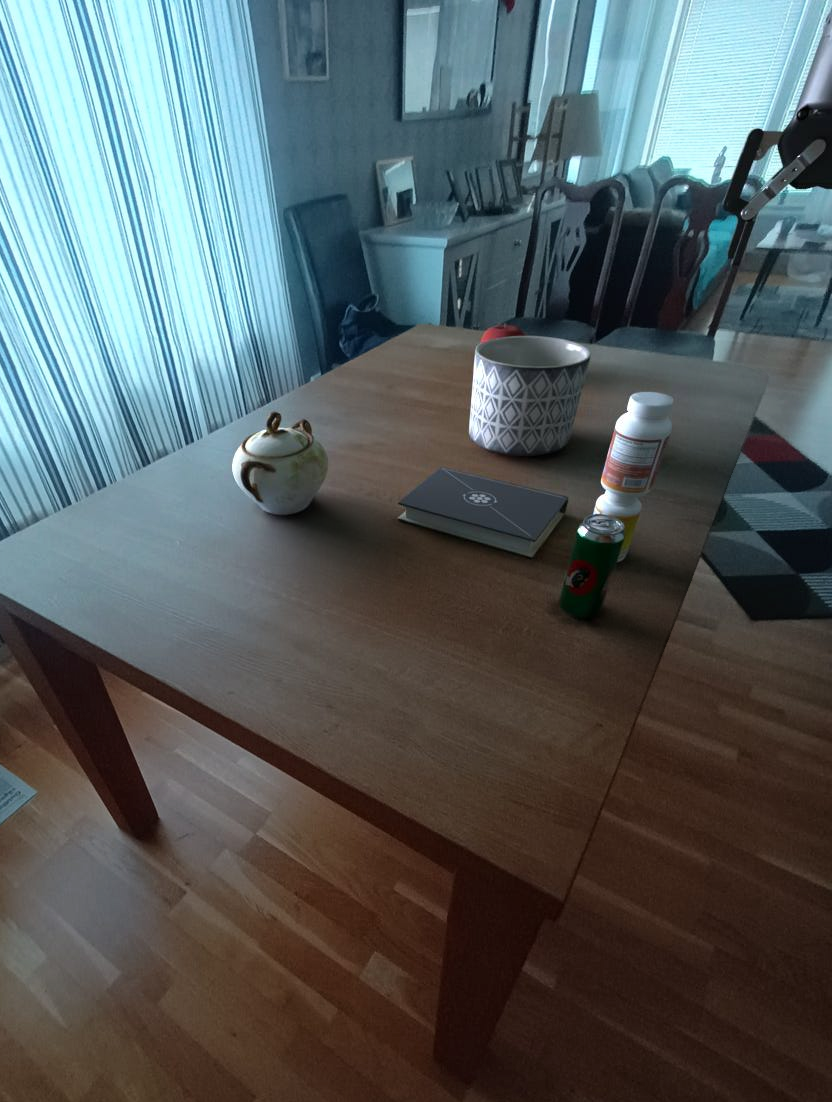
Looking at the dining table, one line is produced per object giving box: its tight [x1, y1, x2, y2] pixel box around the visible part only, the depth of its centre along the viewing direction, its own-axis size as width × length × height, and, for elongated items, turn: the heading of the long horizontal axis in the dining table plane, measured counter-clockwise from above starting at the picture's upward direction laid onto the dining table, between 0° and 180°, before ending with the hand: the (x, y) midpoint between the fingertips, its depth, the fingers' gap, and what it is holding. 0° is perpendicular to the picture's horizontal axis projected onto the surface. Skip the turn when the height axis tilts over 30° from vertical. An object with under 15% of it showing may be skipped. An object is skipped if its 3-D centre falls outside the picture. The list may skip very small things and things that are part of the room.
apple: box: [479, 322, 526, 344], centre depth 136 cm, size 11×11×12 cm
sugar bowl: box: [231, 410, 329, 516], centre depth 90 cm, size 20×15×15 cm
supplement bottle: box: [592, 489, 643, 563], centre depth 77 cm, size 6×6×10 cm
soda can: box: [558, 513, 625, 620], centre depth 68 cm, size 5×5×12 cm
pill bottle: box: [600, 391, 675, 497], centre depth 70 cm, size 6×6×11 cm
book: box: [397, 466, 569, 559], centre depth 88 cm, size 22×15×3 cm
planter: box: [468, 335, 592, 457], centre depth 104 cm, size 19×19×16 cm
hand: (783, 267), depth 57 cm, fingers open, 8 cm apart
